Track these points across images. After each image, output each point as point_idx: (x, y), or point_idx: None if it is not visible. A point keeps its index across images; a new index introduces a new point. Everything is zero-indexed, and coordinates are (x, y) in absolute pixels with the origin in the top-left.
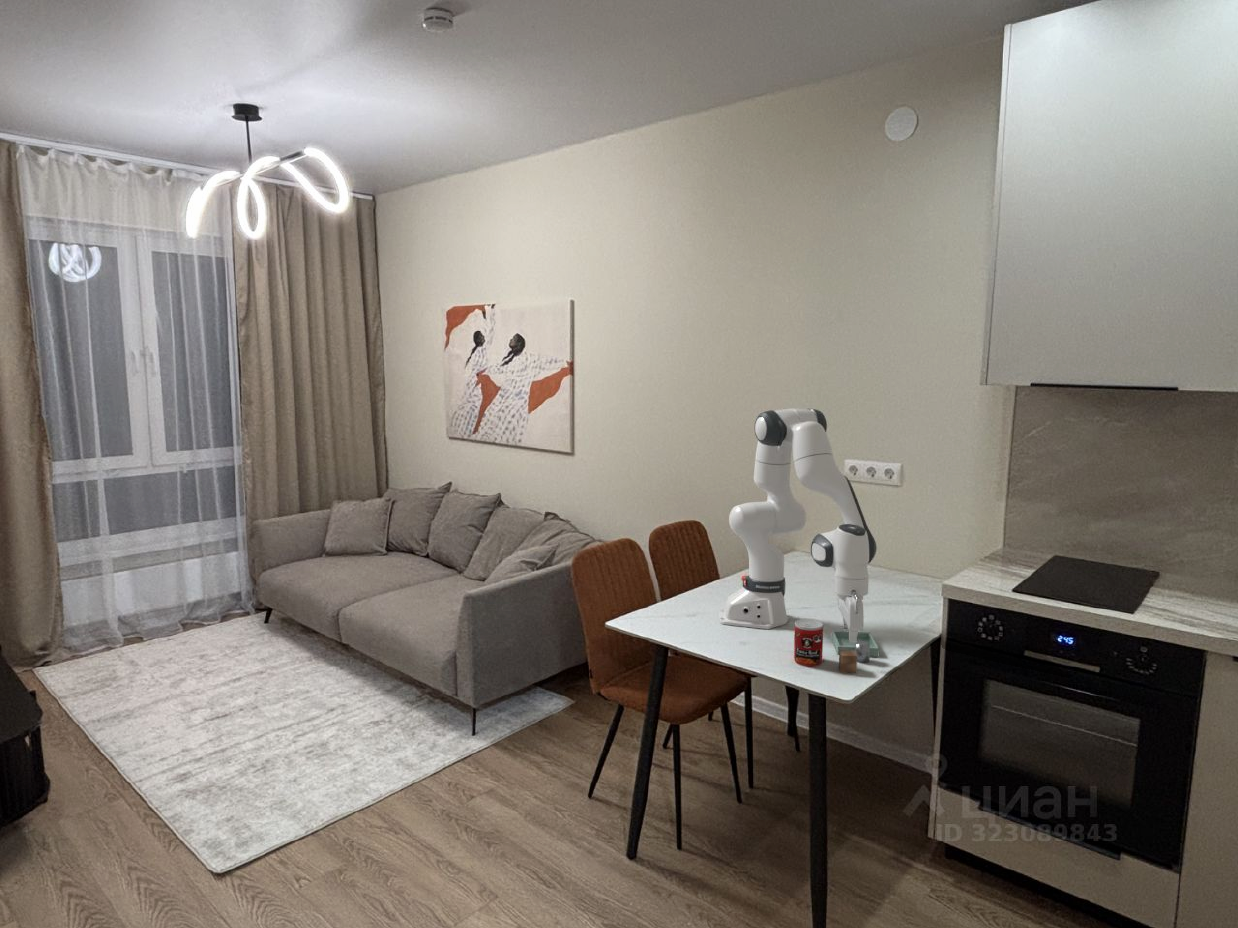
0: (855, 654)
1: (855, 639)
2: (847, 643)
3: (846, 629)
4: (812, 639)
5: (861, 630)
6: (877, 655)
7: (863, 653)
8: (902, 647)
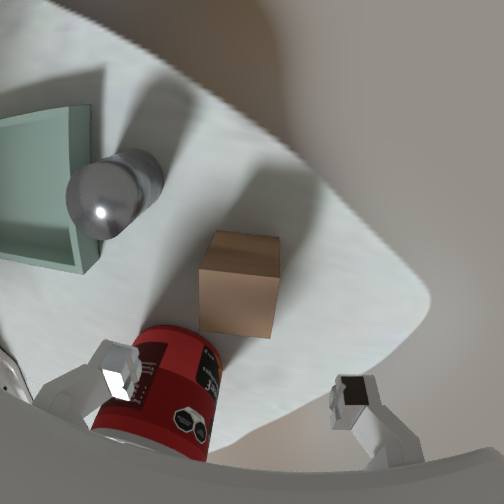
0: (258, 279)
1: (375, 393)
2: (14, 205)
3: (138, 370)
4: (207, 437)
5: (491, 448)
6: (87, 108)
7: (145, 193)
8: (19, 21)
